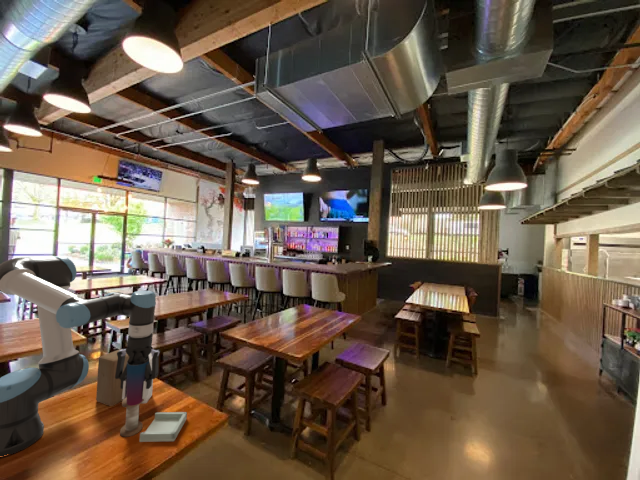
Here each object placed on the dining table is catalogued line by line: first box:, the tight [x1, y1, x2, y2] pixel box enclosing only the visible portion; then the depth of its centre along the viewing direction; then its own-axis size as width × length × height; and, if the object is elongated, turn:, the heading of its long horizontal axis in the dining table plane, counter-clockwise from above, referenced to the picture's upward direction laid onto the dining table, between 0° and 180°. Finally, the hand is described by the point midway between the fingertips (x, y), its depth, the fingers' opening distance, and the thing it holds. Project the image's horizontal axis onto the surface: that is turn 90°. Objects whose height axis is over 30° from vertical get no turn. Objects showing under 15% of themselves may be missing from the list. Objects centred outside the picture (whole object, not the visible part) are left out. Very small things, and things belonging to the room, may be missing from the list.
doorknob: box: [119, 397, 144, 438], centre depth 102 cm, size 7×7×12 cm
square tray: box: [139, 411, 188, 443], centre depth 103 cm, size 12×12×3 cm
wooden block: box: [95, 348, 129, 407], centre depth 119 cm, size 10×10×20 cm
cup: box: [127, 360, 149, 406], centre depth 97 cm, size 7×7×15 cm
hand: (135, 396), depth 97 cm, fingers closed on cup, 6 cm apart
